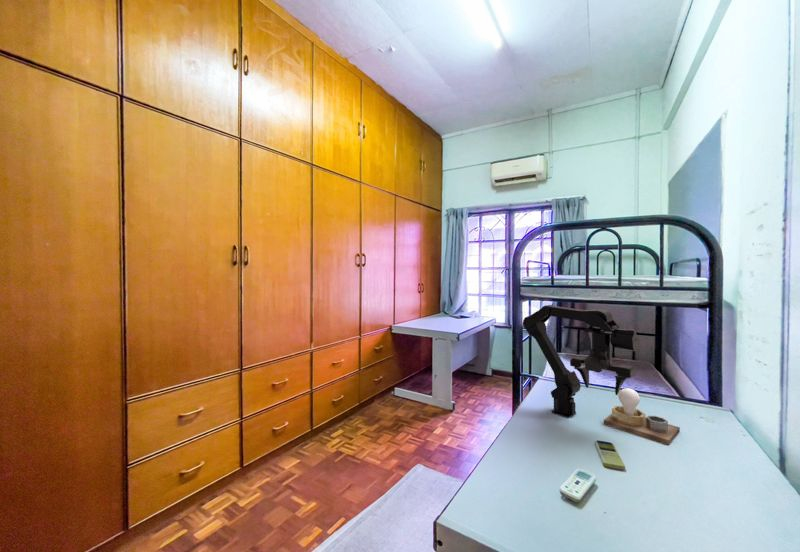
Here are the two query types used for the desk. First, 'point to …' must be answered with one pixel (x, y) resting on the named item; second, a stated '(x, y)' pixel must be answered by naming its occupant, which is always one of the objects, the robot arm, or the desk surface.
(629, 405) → the lightbulb
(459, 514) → the desk surface
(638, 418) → the brass collar
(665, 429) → the grey small collar
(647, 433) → the walnut board
